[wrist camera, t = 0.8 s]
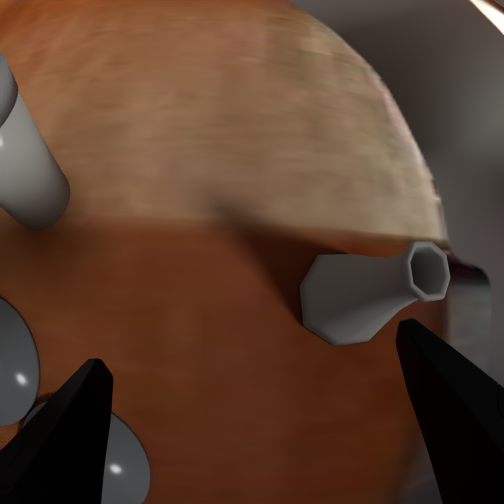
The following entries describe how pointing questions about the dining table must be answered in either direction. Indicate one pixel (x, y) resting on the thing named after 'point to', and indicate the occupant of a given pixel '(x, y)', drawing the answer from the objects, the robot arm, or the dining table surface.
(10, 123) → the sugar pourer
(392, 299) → the flask
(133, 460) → the coaster
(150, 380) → the dining table surface
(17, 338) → the coaster mid
